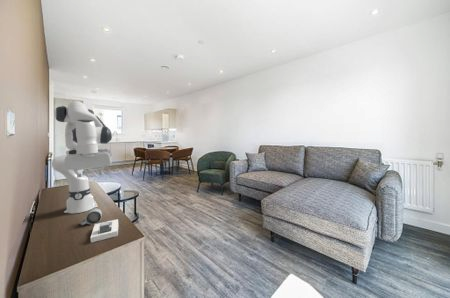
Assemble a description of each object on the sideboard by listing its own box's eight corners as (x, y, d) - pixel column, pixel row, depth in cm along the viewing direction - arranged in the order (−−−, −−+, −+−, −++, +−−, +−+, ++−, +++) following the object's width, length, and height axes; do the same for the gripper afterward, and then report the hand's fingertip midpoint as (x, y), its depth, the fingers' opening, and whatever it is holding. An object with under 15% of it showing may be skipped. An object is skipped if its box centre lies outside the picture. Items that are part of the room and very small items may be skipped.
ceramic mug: (102, 217, 116) (101, 205, 115) (102, 222, 109) (100, 209, 108) (81, 222, 110) (79, 210, 110) (79, 228, 103) (77, 214, 103)
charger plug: (101, 234, 95) (100, 223, 95) (110, 232, 97) (109, 221, 97) (100, 238, 92) (99, 226, 91) (109, 235, 93) (109, 224, 93)
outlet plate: (95, 228, 102) (94, 224, 101) (118, 223, 107) (118, 219, 107) (90, 242, 88) (90, 237, 87) (117, 235, 93) (117, 231, 93)
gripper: (111, 148, 106) (113, 172, 107) (65, 151, 97) (67, 177, 97) (110, 149, 101) (112, 174, 102) (61, 151, 91) (64, 179, 92)
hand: (90, 175), depth 100 cm, fingers open, 8 cm apart
